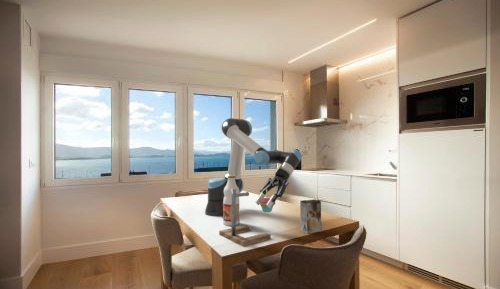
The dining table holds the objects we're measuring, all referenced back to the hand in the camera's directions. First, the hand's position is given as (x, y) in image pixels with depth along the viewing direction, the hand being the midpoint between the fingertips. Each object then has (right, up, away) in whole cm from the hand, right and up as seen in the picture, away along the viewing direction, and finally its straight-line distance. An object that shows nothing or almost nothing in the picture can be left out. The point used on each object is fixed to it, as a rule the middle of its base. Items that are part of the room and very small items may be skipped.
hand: (262, 205), depth 142 cm
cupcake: (+3, -4, +2) cm, 5 cm away
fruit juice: (-17, -15, +16) cm, 28 cm away
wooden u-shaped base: (-9, -14, -7) cm, 18 cm away
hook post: (-11, -12, -8) cm, 19 cm away
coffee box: (+26, -15, +2) cm, 30 cm away
